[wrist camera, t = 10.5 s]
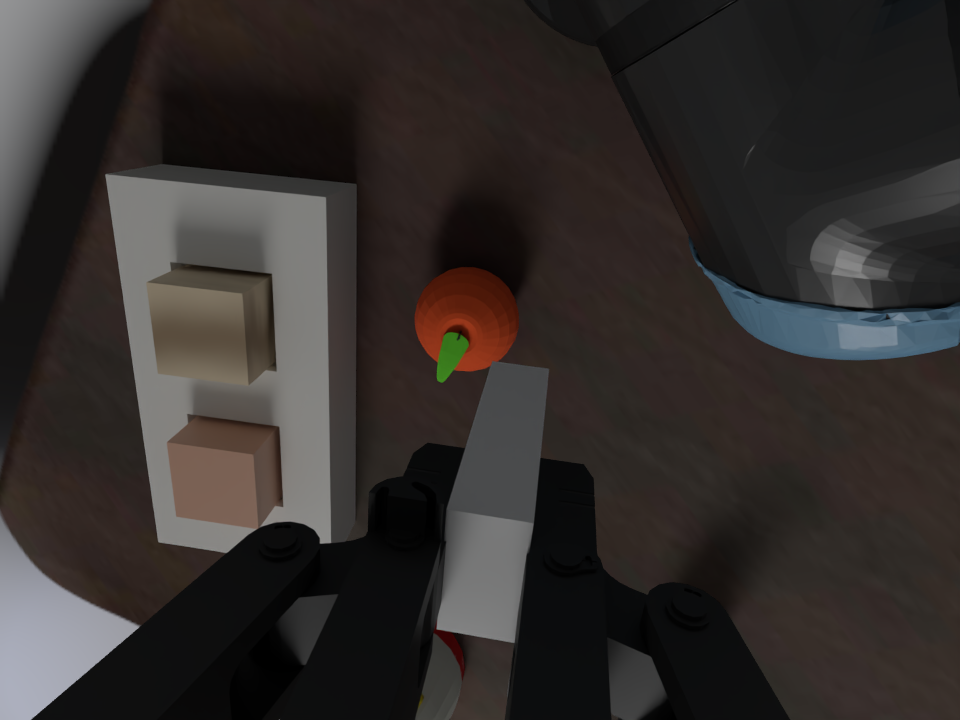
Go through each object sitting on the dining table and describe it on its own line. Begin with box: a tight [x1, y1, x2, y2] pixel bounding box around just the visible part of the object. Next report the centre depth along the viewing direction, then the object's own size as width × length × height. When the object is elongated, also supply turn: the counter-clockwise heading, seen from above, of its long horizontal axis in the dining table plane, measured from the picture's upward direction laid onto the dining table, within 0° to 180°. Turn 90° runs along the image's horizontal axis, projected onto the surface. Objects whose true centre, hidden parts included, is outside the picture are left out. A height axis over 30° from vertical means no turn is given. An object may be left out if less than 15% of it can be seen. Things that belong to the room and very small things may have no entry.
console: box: [106, 164, 357, 553], centre depth 47 cm, size 28×14×6 cm, turn 176°
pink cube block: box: [167, 415, 283, 529], centre depth 47 cm, size 6×6×6 cm
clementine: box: [415, 267, 519, 383], centre depth 43 cm, size 8×7×7 cm
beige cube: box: [146, 264, 276, 386], centre depth 42 cm, size 6×6×6 cm
